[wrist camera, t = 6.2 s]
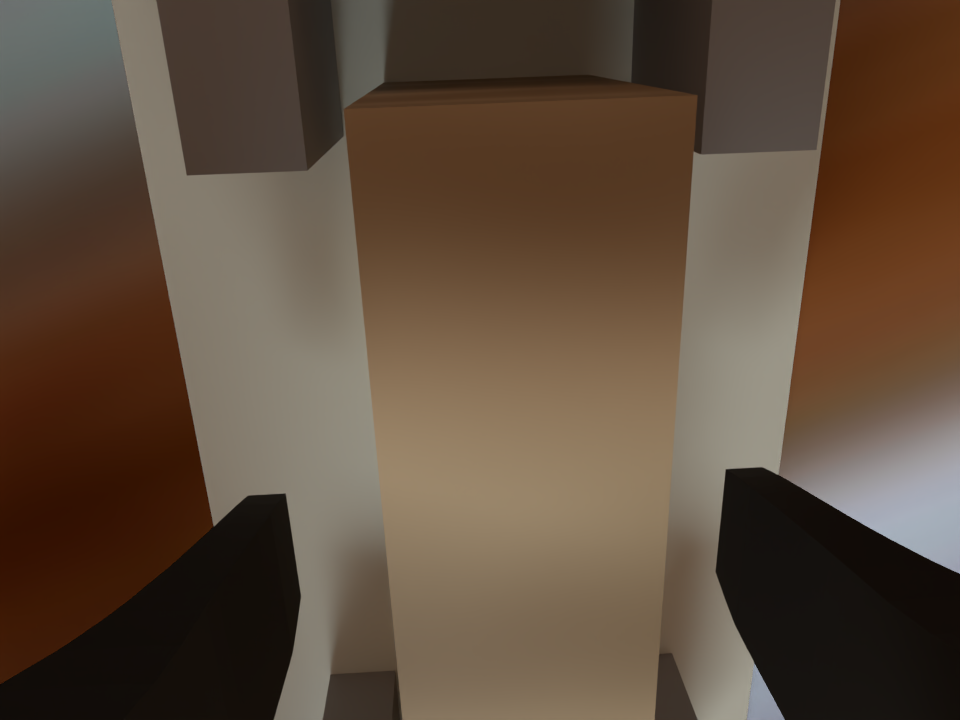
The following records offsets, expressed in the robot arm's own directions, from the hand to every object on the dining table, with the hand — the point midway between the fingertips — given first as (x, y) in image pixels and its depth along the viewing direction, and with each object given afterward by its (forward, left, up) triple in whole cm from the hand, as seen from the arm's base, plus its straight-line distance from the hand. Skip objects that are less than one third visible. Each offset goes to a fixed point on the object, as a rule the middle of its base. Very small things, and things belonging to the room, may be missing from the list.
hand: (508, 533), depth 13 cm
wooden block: (0, 0, -3) cm, 3 cm away
